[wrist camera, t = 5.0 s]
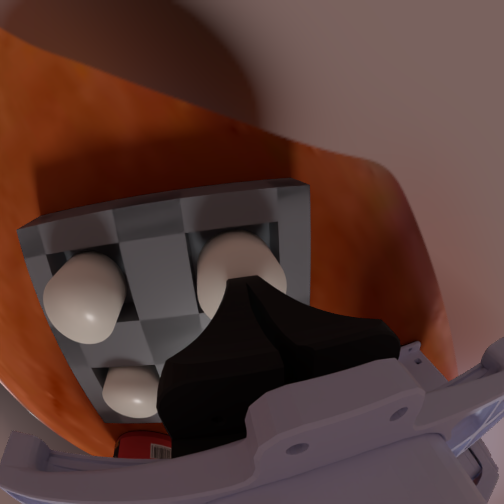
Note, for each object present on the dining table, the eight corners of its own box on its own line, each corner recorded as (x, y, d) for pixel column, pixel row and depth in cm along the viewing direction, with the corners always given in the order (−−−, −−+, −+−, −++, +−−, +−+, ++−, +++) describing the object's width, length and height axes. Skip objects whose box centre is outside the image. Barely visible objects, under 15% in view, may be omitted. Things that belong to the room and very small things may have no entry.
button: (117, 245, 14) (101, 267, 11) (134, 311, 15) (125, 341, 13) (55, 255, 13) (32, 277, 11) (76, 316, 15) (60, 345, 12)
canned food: (103, 429, 22) (91, 520, 12) (175, 426, 23) (180, 528, 13) (133, 462, 25) (131, 539, 15) (196, 459, 26) (206, 541, 16)
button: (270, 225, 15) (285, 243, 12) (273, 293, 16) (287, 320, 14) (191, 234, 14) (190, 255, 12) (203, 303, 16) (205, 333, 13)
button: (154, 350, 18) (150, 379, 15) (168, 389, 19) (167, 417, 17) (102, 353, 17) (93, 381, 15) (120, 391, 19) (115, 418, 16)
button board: (291, 177, 17) (309, 184, 14) (293, 376, 23) (303, 401, 20) (40, 216, 14) (16, 230, 12) (110, 396, 20) (104, 422, 18)
